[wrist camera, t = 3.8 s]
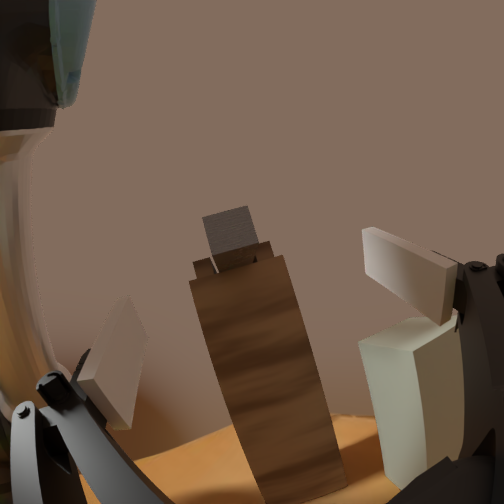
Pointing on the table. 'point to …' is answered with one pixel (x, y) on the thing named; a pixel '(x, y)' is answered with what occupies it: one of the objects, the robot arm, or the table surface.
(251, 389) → the stand
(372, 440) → the table surface
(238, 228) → the bar
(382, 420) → the rest block
